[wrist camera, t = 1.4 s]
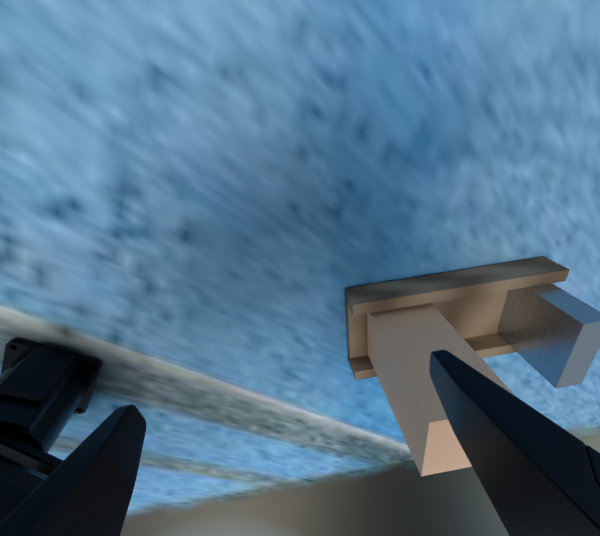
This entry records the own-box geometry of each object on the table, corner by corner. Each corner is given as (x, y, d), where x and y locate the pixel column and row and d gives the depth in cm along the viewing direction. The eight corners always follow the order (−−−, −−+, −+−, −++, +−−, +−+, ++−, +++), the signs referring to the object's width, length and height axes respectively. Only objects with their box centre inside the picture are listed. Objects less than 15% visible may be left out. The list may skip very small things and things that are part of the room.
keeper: (367, 353, 26) (421, 476, 17) (367, 308, 24) (429, 422, 15) (422, 344, 26) (502, 460, 17) (427, 298, 24) (523, 405, 15)
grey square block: (490, 327, 28) (555, 388, 22) (504, 272, 25) (583, 324, 19) (510, 324, 28) (581, 383, 22) (526, 269, 25) (613, 319, 19)
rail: (348, 359, 28) (355, 380, 26) (344, 288, 24) (352, 304, 22) (520, 330, 28) (541, 347, 26) (543, 256, 25) (569, 269, 23)
